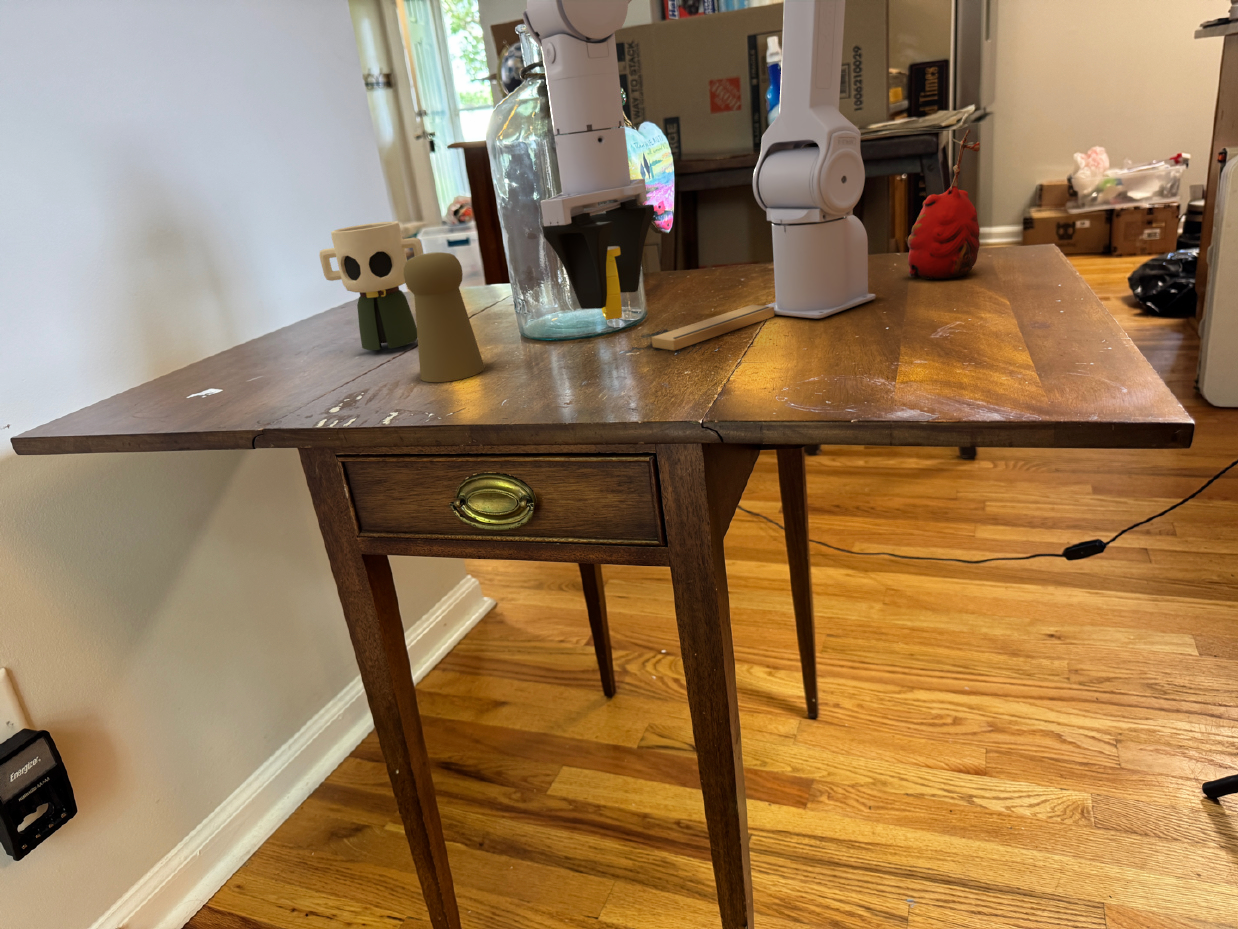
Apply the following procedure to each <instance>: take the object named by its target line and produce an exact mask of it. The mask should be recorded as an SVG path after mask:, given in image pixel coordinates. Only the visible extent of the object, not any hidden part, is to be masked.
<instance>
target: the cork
mask: <svg viewBox="0 0 1238 929" xmlns="http://www.w3.org/2000/svg"><path fill="white" fill-rule="evenodd" d="M461 264H462V263H461V262H460V260H459V259H458V258H457V257H456V255H455V254H453V253H451V252H443V251H435V252H434V251H433V252H426V253H423V254H421V255H418V256H416V257H415V256H413V257H411V258H409V259H407V262H406V263H405V266H404V279H405V285H406V287H407V289H408V290H409V291H410V292H411V293H412V294H413V299H414V309H415V324H416V327H417V337H418V338H417V347H418V348H417V350H418V362H419V373H420V374H419V375H420V376H419V377H420V380H421V381H423V382H427V383H446V382H447V383H448V382H454V381H458V380H463V379H467V378H470V377H473V376H476V375H478V374H480V373H482V372H483V371H484V370H485V368H486V367H485V364H484V361H483V358H482V354H481V351H480V349H479V345H478V343H477V342H478V341H477V340H476V336H475V333H474V329H473V326H472V323H471V321H470V317H469V314H468V311H467V308H466V305H465V302H464V299H463V296H462V293H461V289H460V286H461V284H462V282H463V274H464V273H463V267H462V265H461Z"/></svg>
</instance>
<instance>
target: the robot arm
mask: <svg viewBox="0 0 1238 929" xmlns="http://www.w3.org/2000/svg"><path fill="white" fill-rule="evenodd" d="M631 2H632V0H526V9H525V10H523V11H522V19H523V23H524V26H525V28H526V30H527V32H528V34H529V36H530V37H531V38H532V40H533V41H534V43H536V44H537V47H538V48H539V50H540V53H541V57H542V63H543V64H542V65H543V68H544V71H545V79H546V85H547V93H548V101H549V107H550V116H551V122H552V129H553V135H554V142H555V150H556V157H557V165H558V173H559V179H560V187H561V192H560V193H558V194H555V195H554V196H551V197H550V198H546V199H543V200H540V208H541V215H542V220H543V225H542V227H541V228H542V236H543V238H544V239H545V241H546V242H547V243H548V244H549V246H550V247H551V248H552V249H553V251H554V253H555V254H556V256H557V257H558V259H559V261H560V262H561V264H562V266H563V267H564V270H565V272H566V275H567V276H568V279H569V281H570V284H571V287H572V289H573V291H574V294H575V297H576V299H577V302H578V304H579V306H580V308H581V310H585V309H586V310H595V309H598V310H599V309H601V308H604V307H606V301H607V276H606V261H607V250H608V247H611V246H619V247H620V253H621V254H620V255H619V256H615V261H616V266H617V272H618V278H619V285H620V294H621V293H636V292H638V291H639V287H640V286H639V285H640V279H641V271H642V262H643V253H644V248H645V243H646V239H647V236H648V232H649V229H650V226H651V224H652V221H653V219H654V217H655V205H654V204H638V203H644V202H647V201H648V197H647V188H646V186H647V185H646V179H645V178H634V179H631V173H630V163H629V155H628V154H629V152H628V145H627V144H628V143H627V136H626V135H627V134H626V127H625V119H624V117H625V116H624V108H623V101H622V100H623V99H622V90H621V80H620V73H619V72H620V71H619V62H618V61H619V60H618V52H617V43H616V36H615V32H616V31H619V30H621V29H622V28H623V26H624V24H625V22H626V18H627V17H628V16H627V15H628V11H629V4H630V3H631ZM845 14H846V0H783V20H782V42H781V43H782V44H781V66H780V68H781V71H780V73H781V74H780V91H779V92H780V94H779V113H778V114H777V116H776V117H775V119H774V120H773V121H772V123H771V124H770V125H769V126H768V127H767V129H766V130H765V132H764V133H763V134H762V137H761V144H760V154H759V158H758V160H757V163H756V166H755V168H754V171H753V175H752V176H753V177H752V191H753V195H754V199H755V200H756V202H757V204H758V206H759V207H760V208H761V209H762V210H763V211H765V212H766V221H767V222H772V223H771V234H772V235H771V237H772V253H773V254H772V255H773V273H774V274H773V275H774V293H775V294H774V295H775V301H774V302H771V303H769V304H766V305H764V306H769V307H774V315H777V316H789V317H795V318H796V317H798V318H805V319H806V318H807V319H817V320H818V319H823V318H826V317H828V316H831V315H834V314H837V313H839V312H842V311H845V310H848V309H850V308H853V307H857V306H859V305H863V304H864V303H867V302H870V301H872V300H875V299H876V294H875V293H869V245H868V244H869V240H868V235H867V230H866V228H865V226H864V224H863V223H862V221H861V220H860V219H859V218H858V217H857V216H855V215H854V214H853V213H854V212H853V210H854V208H855V206H856V205H857V204H858V202H859V201H860V199H861V196H862V195H863V192H864V186H865V181H866V170H865V165H864V161H863V158H862V153H861V136H862V133H861V131H860V130H859V128H858V127H857V126H856V125H854V124H853V123H852V122H851V121H850V120H849V119H848V118H847V117H846V116H844V114H842V113H841V112H840V99H841V98H840V95H841V82H842V81H841V78H842V63H843V49H844V48H843V47H844V46H843V45H844V28H845ZM814 143H816V144H817V145H818V146H811V147H809V146H808V147H805V146H806V145H808V144H814ZM607 201H608V202H607ZM602 202H606V203H604V204H599V203H602ZM601 310H602V309H601Z"/></svg>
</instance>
